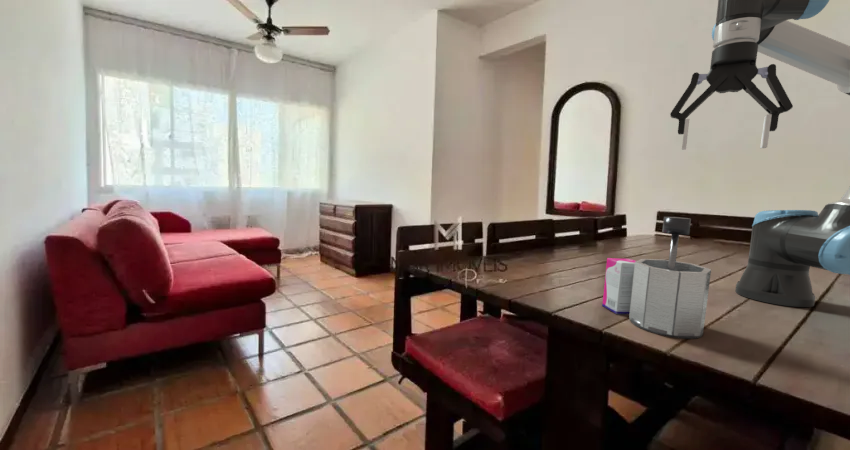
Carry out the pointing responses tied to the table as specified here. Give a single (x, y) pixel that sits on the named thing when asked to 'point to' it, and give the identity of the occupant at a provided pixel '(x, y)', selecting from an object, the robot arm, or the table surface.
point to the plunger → (675, 235)
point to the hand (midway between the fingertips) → (721, 148)
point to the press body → (669, 298)
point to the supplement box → (618, 285)
